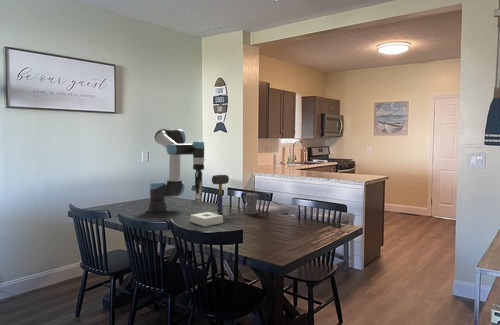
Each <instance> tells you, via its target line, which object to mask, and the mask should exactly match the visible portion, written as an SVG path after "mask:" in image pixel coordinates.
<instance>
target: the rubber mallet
mask: <svg viewBox="0 0 500 325" xmlns="http://www.w3.org/2000/svg"><path fill="white" fill-rule="evenodd" d="M211 182H212V185H218V195H217V211H216V212H217V213H218V214H222V213H223V185H226V184H228V183H229V182H230V178H229V175H228V174H217V175H216V174H215V175H212V177H211Z"/></svg>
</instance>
